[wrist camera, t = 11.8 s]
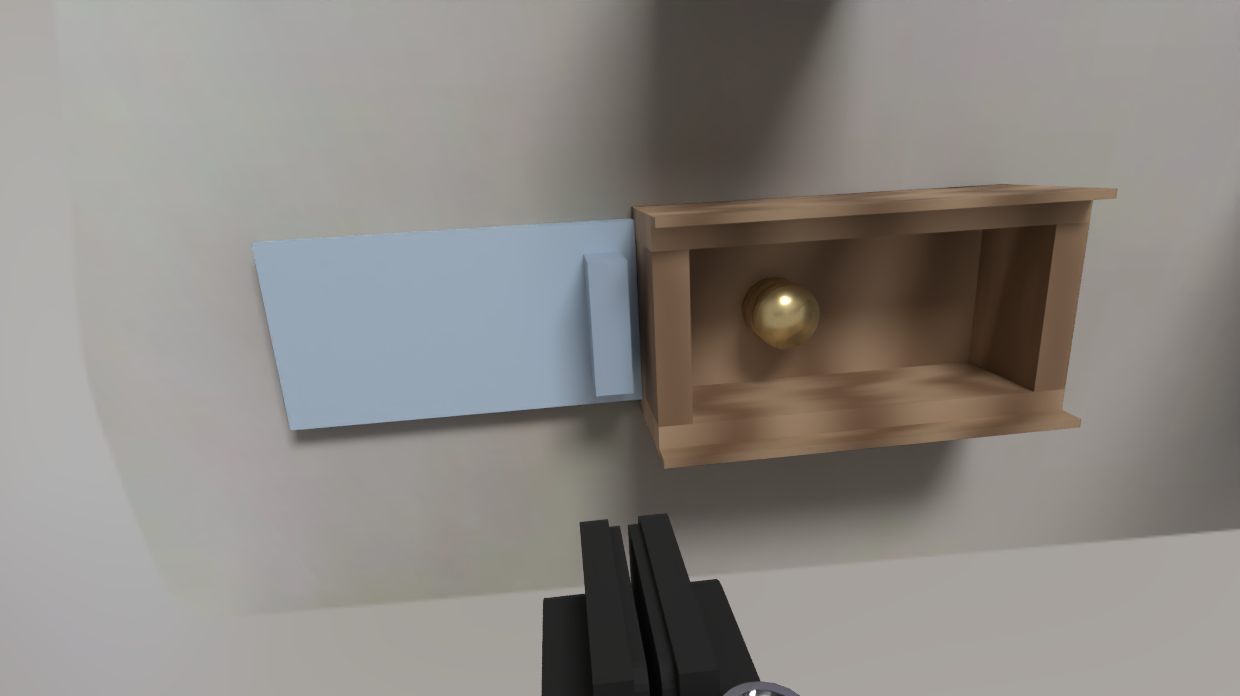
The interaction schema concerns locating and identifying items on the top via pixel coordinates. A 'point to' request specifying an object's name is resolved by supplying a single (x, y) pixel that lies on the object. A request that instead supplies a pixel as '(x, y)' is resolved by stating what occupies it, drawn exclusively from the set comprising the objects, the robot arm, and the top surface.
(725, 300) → the walnut box
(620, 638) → the robot arm
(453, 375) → the cover plate
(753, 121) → the top surface
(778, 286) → the cylinder
